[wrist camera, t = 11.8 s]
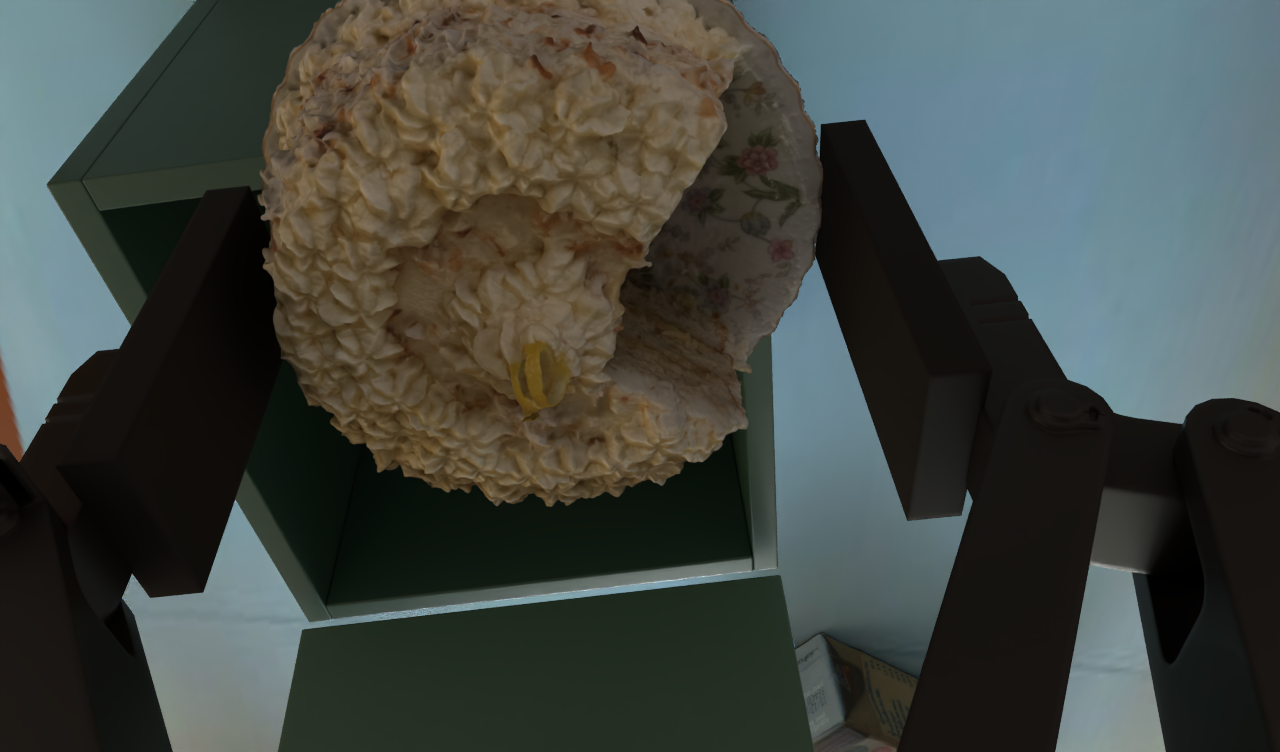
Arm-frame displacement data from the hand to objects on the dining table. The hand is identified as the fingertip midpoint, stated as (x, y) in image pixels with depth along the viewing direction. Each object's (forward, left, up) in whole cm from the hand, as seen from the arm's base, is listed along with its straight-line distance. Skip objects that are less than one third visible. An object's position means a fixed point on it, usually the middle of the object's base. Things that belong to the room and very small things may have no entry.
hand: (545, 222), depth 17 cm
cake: (0, 0, 0) cm, 0 cm away
